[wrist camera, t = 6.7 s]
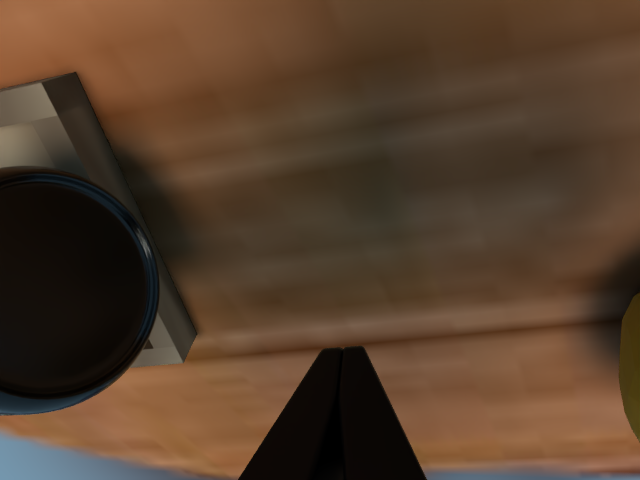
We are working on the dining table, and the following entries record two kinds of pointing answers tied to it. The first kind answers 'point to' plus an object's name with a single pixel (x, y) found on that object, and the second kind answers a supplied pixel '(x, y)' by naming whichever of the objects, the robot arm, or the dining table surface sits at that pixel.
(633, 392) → the apple
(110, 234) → the supplement bottle
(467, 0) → the dining table surface
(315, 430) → the robot arm
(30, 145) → the metal tray
